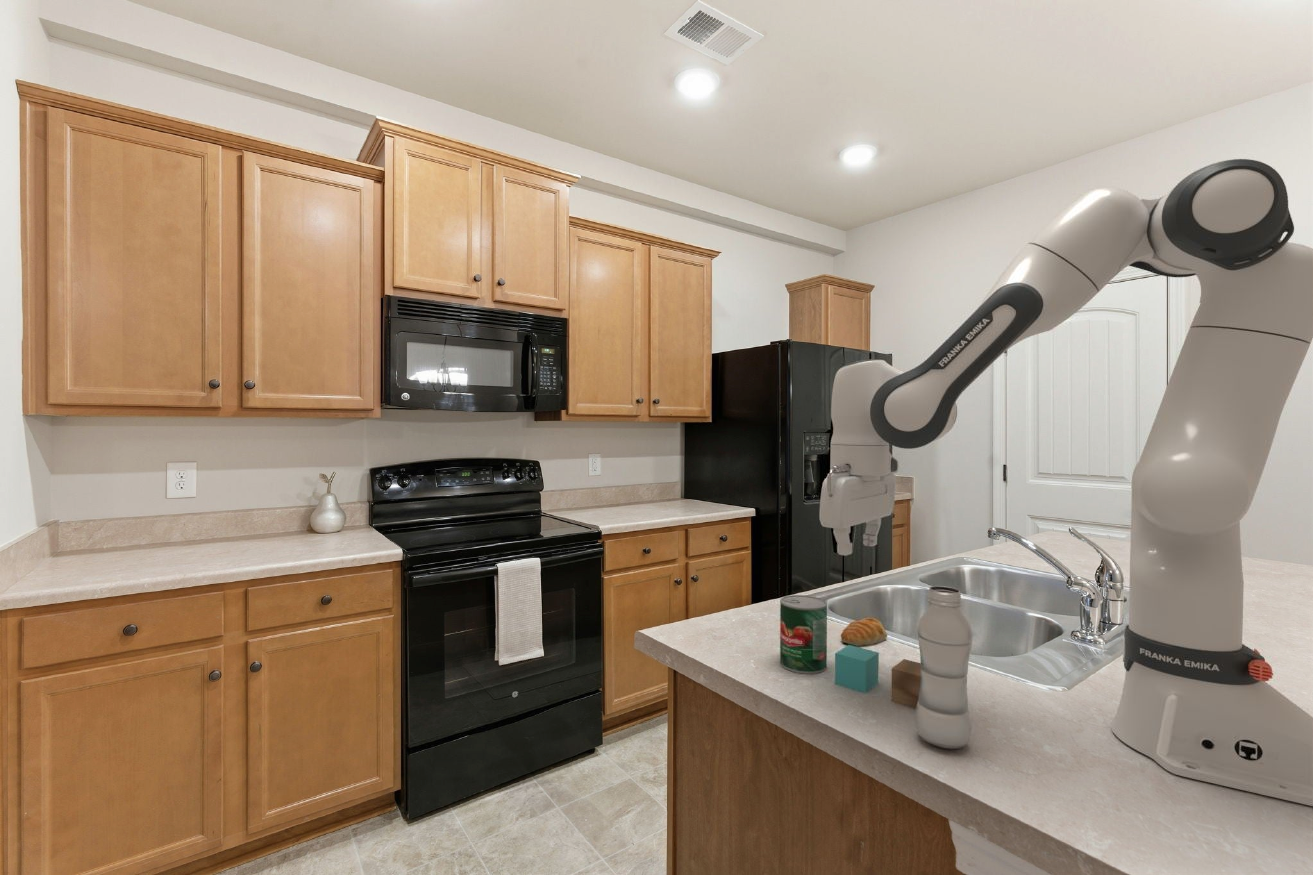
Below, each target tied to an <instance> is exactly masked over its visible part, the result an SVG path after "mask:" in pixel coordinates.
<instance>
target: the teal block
mask: <svg viewBox="0 0 1313 875" xmlns="http://www.w3.org/2000/svg"><path fill="white" fill-rule="evenodd" d="M879 658H880V657H879V652H878V651H874V650H870V649H866V648H863V647H860V646H854V645H851V644H847V645H846V646H845V647H843V648H841V649H840V650H837V651H836V652H835V655H834V685H837V686H840V687H843V688H848V689H851V690H854V691H857V692H859V693H860V692H861V693H863V694H866V693H867V692H869V691H870V690H872V689H873V688H874V687H875V686H876V685H878V684H879V664H880V663H879Z"/></svg>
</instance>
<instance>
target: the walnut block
mask: <svg viewBox="0 0 1313 875" xmlns="http://www.w3.org/2000/svg"><path fill="white" fill-rule="evenodd" d="M920 681H921V662H917V661H913V660H910V659H905V658H904V659H902V660H901V661H900V662H898V663H897V664H896V665H894V666H893V667H892V668H891V689H890V690H891V693H890V694H891V695H890V696H891V698H890V699H891V702H893V703H897V704H900V705H902V706H907V707H909V708H913V709H916V706H917V702H918V699H919V690H920Z"/></svg>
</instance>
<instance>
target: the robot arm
mask: <svg viewBox="0 0 1313 875" xmlns="http://www.w3.org/2000/svg"><path fill="white" fill-rule="evenodd" d="M1294 232H1295V224H1294V221H1293V218H1292V216H1291V212H1290V210H1289V196H1288V191H1287V186H1286V183H1285V181H1284V180H1283V178H1282V176H1281V175H1280V173H1279V172H1278V171H1277V170H1276V169H1275V168H1274V167H1272V166H1270V165H1268V164H1267V163H1264V162H1262V161H1260V160H1255V159H1247V158H1236V159H1235V158H1234V159H1227V160H1222V161H1218V162H1215V163H1212V164H1208V165H1206V166H1204V167H1201V168H1199V169H1197V170H1194V171H1193V172H1192V173H1190V174H1188V175H1187V176H1186V177H1184V178H1182V180H1180V181H1179V182H1178V183H1177V185H1175V186H1174V187H1173V188H1171V189H1170V190H1169V191H1168V192H1167V193H1166V194H1165V195H1163V196H1161V197H1158V198H1153V199H1145V198H1141V197H1140V198H1139V197H1138V196H1136V195H1135V194H1133V193H1132V192H1129V191H1128V190H1125V189H1121V188H1117V187H1107V186H1106V187H1104V186H1103V187H1099V188H1095V189H1092V190H1090V191H1088V192H1086V193H1085V194H1083V195H1082V196H1080V197H1079V198H1077V199H1076V200H1075V201H1073V202H1072V203H1071V204H1070V205H1068V206H1067V207H1066V208H1065V209H1063V210H1062V211H1061V212H1060V213H1058V215H1057V216H1055V217H1053V219H1051V221H1049V222H1048V223H1047V224H1046V225H1045V226H1044V227H1043V228H1042V229H1041V230H1040V231H1039V232H1038V233H1037V234H1035V236H1034V237H1033V238H1032V239H1031V240H1029V242H1027V244H1026V245H1025V246H1024V247H1023V248H1022V249H1021V250H1020V251H1019V252H1018V254H1017V255H1016V256H1015V257H1014V258H1013V259H1012V261H1011V262H1010V263H1009V264H1008V265H1007V267H1006V268H1005V269H1004V271H1003V272H1002V273H1001V275H999V277H998V279H997V280H996V282H995V283H994V284H993V286H992V287H991V289H990V290H989V291H988V292H987V294H986V295H985V297H984V298H983V300H982V302H981V303H980V304H979V306H978V307H977V308H976V309H975V310H974V312H973V313H972V314H971V315H970V316H969V317H968V318H967V319H966V320H965V321H964V322H963V323H962V324H961V325H960V326H959V327H958V328H957V329H956V330H955V331H954V332H953V333H952V334H951V335H950V336H949V337H948V338H947V339H946V340H945V341H944V342H942V344H941V345H940V346H939V347H938V348H937V349H936V350H935V351H934V352H932V354H931V355H929V356H928V358H927V359H925V360H924V361H923V362H922V363H920V364H919V365H917V366H916V367H914V368H912V369H910V370H907V371H905V372H904V371H902V370H900V369H898V368H896V367H894V366H893V365H890V364H889V363H887V361H886V360H884V359H880V358H870V359H861V360H856V361H853V362H850V363H847V364H845V365H842V366H841V367H840V368H839V369H838V370H837V372H836V373H835V376H834V380H833V384H832V393H831V406H830V407H831V408H830V410H831V411H830V417H831V418H830V419H831V422H832V428H833V430H832V432H833V433H832V436H831V438H830V439H831V440H830V463H829V464H830V465H829V466H830V467H829V468H830V469H829V473H827V476H826V478H824V480H823V482H822V487H821V492H820V499H819V500H820V501H819V502H820V503H819V522H820V524H821V526H822V527H824V528H829V529H833V536H834V538H835V542H836V543H837V544H836V551H837V552H836V553H837V554H838V555H840V556H845V557H846V556H848V555H852V554H853V543H852V542H851V540H850V533H851V527H853V526H857V525H861V524H864V523H865V524H866V525H865V526H866V527H865V531H864V532H865V533H863V534H862V544H863V546H866V547H874V546H876V545H877V544H878V534H879V532H880V528H881V525H882V518H885V517H888V516H891V515H892V513H893V510H894V506H895V501H896V500H895V499H896V497H895V496H896V485H897V484H896V480H897V479H896V475H895V474H896V473H898V472H899V459H897V458H896V457H895V456H893V454H892V453H891V452H890V445H891V446H893V447H896V448H899V449H907V450H908V449H911V450H912V449H919V448H923V447H925V446H926V445H929V444H930V443H933V442H935V441H937V440H939V439H941V438H943V437H945V436H946V435H947V434H948V433H949V432H950V431H951V430H952V429H953V427H954V425H955V423H956V421H957V416H958V407H957V404H956V401H957V400H958V398H960V396H961V395H962V393H963V392H965V391H966V390H967V389H968V387H970V385H972V384H973V382H975V381H976V380H977V379H978V378H979V377H980V375H982V374H983V373H984V372H985V371H986V370H987V369H988V368H989V367H991V365H992V364H993V363H994V362H996V361H997V359H998V358H1000V357H1001V356H1002V355H1003V354H1004V353H1005V352H1006V351H1008V350H1009V349H1010V348H1012V347H1013V346H1015V345H1016V344H1018V343H1019V342H1020V343H1021V341H1024V340H1026V339H1027V338H1030V337H1033V336H1035V335H1038V334H1043V333H1046V332H1049V331H1051V330H1053V329H1055V328H1056V327H1058V326H1059V325H1061V324H1062V323H1064V322H1066V321H1067V320H1068V319H1069V318H1070V317H1072V316H1074V315H1075V314H1076V313H1077V312H1078V311H1080V310H1081V309H1082V308H1084V306H1086V305H1087V304H1088V303H1089V302H1090V301H1091V300H1092V299H1093V298H1094V297H1095V296H1096V295H1098V294H1099V293H1100V292H1101V291H1102V289H1103V288H1104V287H1105V286H1106V285H1108V284H1109V282H1110V281H1112V280H1113V279H1114V278H1115V277H1116V276H1117V275H1118V274H1119V273H1121V272H1122V271H1123V270H1125V268H1127V267H1132V268H1136V269H1140V270H1143V271H1147V272H1150V273H1151V274H1155V275H1159V276H1162V277H1167V278H1187V277H1194V276H1196V277H1197V279H1198V281H1199V285H1200V297H1199V305H1198V308H1197V310H1196V312H1195V314H1194V317H1193V319H1192V322H1191V324H1190V326H1189V329H1188V331H1187V334H1186V336H1185V339H1184V342H1183V343H1182V347H1181V350H1180V351H1179V352H1180V353H1179V354H1178V357H1177V360H1176V363H1175V365H1174V367H1173V371H1172V372H1171V375H1170V378H1169V380H1168V383H1167V386H1166V388H1165V391H1164V394H1163V396H1162V399H1161V402H1160V405H1159V407H1158V410H1157V413H1156V416H1155V419H1154V421H1153V423H1152V426H1151V429H1150V432H1149V434H1148V437H1147V440H1146V442H1145V445H1144V447H1143V449H1142V452H1141V455H1140V457H1139V460H1138V462H1137V464H1136V465H1135V466H1134V469H1133V472H1132V475H1131V504H1130V505H1131V508H1130V509H1131V511H1130V513H1131V514H1130V515H1131V516H1130V547H1129V548H1130V552H1129V553H1130V554H1129V556H1130V557H1129V586H1128V587H1129V589H1128V590H1129V592H1128V593H1129V596H1128V597H1129V598H1128V599H1129V600H1128V624H1127V625H1126V626H1125V628H1124V633H1123V636H1122V662H1123V667H1124V669H1125V675H1124V682H1123V686H1122V693H1121V696H1120V701H1119V705H1118V707H1117V711H1116V713H1115V715H1114V719H1113V721H1112V722H1111V725H1110V726H1111V730H1112V732H1113V733H1114V735H1115V736H1116V737H1117V738H1118V739H1119V740H1120V741H1122V742H1123V743H1124V744H1125V745H1127V746H1128V747H1131V748H1132V749H1134V750H1136V751H1138V752H1140V753H1141V754H1143V755H1145V756H1147V757H1149V758H1151V759H1152V760H1154V761H1155V762H1156V763H1157V764H1158V765H1159V766H1161V767H1162V768H1163V769H1165V770H1166V771H1168V772H1169V773H1171V774H1174V775H1177V776H1181V777H1185V778H1189V779H1193V780H1197V781H1200V782H1201V781H1202V782H1206V783H1210V784H1211V783H1212V784H1214V785H1219V786H1224V787H1227V788H1232V789H1237V790H1242V791H1246V792H1249V793H1250V792H1251V793H1254V794H1258V795H1263V796H1267V797H1271V798H1275V799H1281V800H1285V801H1289V802H1293V803H1298V804H1301V805H1307V806H1311V807H1313V716H1312V715H1311V714H1309V713H1308V712H1307V711H1305V710H1304V709H1303V708H1301V707H1300V706H1298V704H1296V703H1295V702H1293V701H1292V700H1290V699H1289V698H1288V697H1286V695H1284V694H1282V693H1281V692H1280V691H1279V690H1277V689H1276V688H1274V687H1273V686H1272V685H1271V684H1269V683H1268V681H1270V679H1273V676H1274V673H1273V672H1274V671H1273V669H1272V666H1271V665H1270V664H1269V663H1268V662H1267V661H1266V659H1265V657H1264V656H1263V655H1261V653H1260V652H1259V651H1258V650H1257V649H1256V648H1254V649H1252V648H1251V647H1248V646H1247V645H1245V644H1243V627H1244V626H1243V624H1244V623H1243V621H1244V620H1243V619H1244V586H1245V585H1244V583H1245V582H1244V575H1243V574H1244V573H1243V562H1242V545H1241V542H1242V541H1241V522H1240V521H1241V520H1242V519H1243V518H1244V517H1245V515H1246V514H1247V513H1248V511H1249V509H1250V507H1251V505H1252V502H1253V500H1254V497H1255V494H1256V492H1257V489H1258V486H1259V484H1260V480H1261V478H1262V475H1263V472H1264V469H1265V466H1266V464H1267V460H1268V458H1269V455H1270V452H1271V448H1272V445H1273V442H1274V439H1275V436H1276V433H1277V429H1278V425H1279V423H1280V420H1281V416H1282V413H1283V410H1284V408H1285V405H1286V403H1287V400H1288V398H1289V396H1290V393H1291V391H1292V388H1293V386H1294V384H1295V382H1296V379H1297V377H1298V374H1299V372H1300V369H1301V367H1302V365H1303V362H1304V361H1305V358H1306V355H1307V353H1308V351H1309V349H1310V345H1311V343H1312V342H1313V248H1312V247H1311V246H1306V245H1304V244H1300V243H1295V242H1290V241H1289V240H1290V239H1291V237H1292V236H1293V234H1294ZM1285 233H1286V235H1285V236H1284V234H1285ZM1282 236H1284V237H1283V238H1282ZM1281 239H1282V240H1281Z"/></svg>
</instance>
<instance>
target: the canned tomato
mask: <svg viewBox="0 0 1313 875" xmlns="http://www.w3.org/2000/svg"><path fill="white" fill-rule="evenodd" d="M779 601H780V603H779V605H780V606H779V607H780V608H779V609H780V610H779V611H780V613H779V614H780V615H779V619H780V620H779V621H780V622H779V626H780V628H779V630H780V632H779V635H780V636H779V638H780V640H779V643H780V645H779V657H780V659H779V664H780V666H781V667H782V668H784V669H785V670H786V671H787V670H788V671H789V670H790V671H789V672H793V673H797V674H804V675H813V674H814V675H815V674H820V673H824V672H825V671H826V670H827V668H828V665H827V662H828V660H827V657H828V654H827V653H828V651H827V650H828V645H827V644H828V641H827V640H828V602H827V601H826V600H824V598H823V599H822V598H820V597H817V596H812V595H804V594H792V595H791V594H790V595H785V596H782V597H781V598H780V599H779Z"/></svg>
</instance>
